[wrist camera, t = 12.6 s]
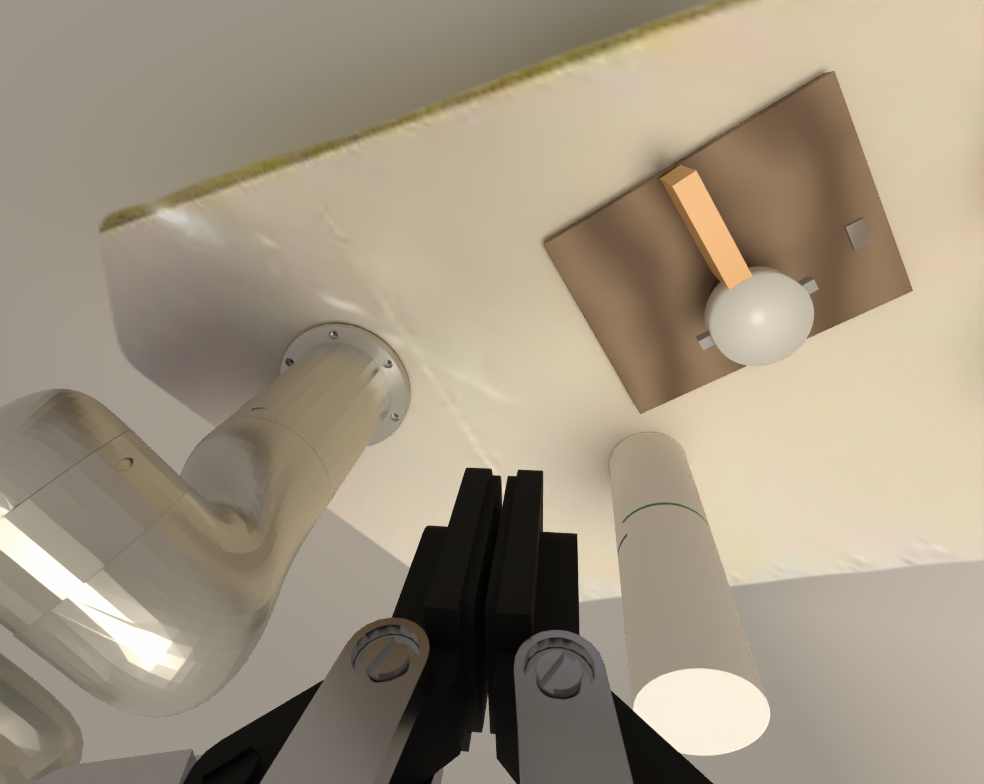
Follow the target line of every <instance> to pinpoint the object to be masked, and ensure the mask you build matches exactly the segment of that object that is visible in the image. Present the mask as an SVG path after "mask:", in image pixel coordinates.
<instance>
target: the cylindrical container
mask: <svg viewBox="0 0 984 784" xmlns="http://www.w3.org/2000/svg"><path fill="white" fill-rule="evenodd" d="M609 469H610V479H611V489H612V500H613V510H614V521H615V531H616V541H617V552H618V562H619V572H620V583H621V593H622V603H623V613H624V624H625V634H626V645H627V655H628V666H629V676H630V687H631V697H632V707H633V711H634V712H635V713H636V714H637V715H638V716H640V717H641V718H642V719H643V720H644V721H645V722H646V723H647V724H648V725H649V726H650V727H652V728H653V729H654V730H655V731H656V732H657V733H658V734H659V735H660V736H661V737H663V738H664V739H665V740H666V741H667V742H668V743H669V744H670V745H671V746H672V747H673V748H675V749H676V750H677V751H678V752H679V753H683V754H691V755H719V754H725V753H729V752H732V751H736V750H739V749H741V748H743V747H746V746H748V745H749V744H751V743H752V742H754V741H755V740H757V739H758V738H759V737H760V736H761V735H762V734H763V732H764V731H765V729H766V728H767V726H768V723H769V720H770V708H769V705H768V702H767V699H766V695H765V692H764V689H763V686H762V683H761V680H760V678H759V674H758V672H757V669H756V665H755V662H754V659H753V656H752V653H751V651H750V647H749V644H748V641H747V638H746V635H745V632H744V629H743V626H742V623H741V620H740V617H739V614H738V611H737V608H736V605H735V602H734V599H733V596H732V593H731V590H730V587H729V584H728V581H727V578H726V575H725V572H724V569H723V566H722V563H721V560H720V557H719V554H718V551H717V548H716V545H715V542H714V539H713V536H712V533H711V530H710V527H709V524H708V521H707V518H706V515H705V512H704V509H703V506H702V503H701V500H700V497H699V494H698V491H697V488H696V485H695V482H694V479H693V476H692V473H691V470H690V467H689V464H688V461H687V458H686V455H685V452H684V450H683V449H682V447H681V446H680V445H679V444H678V443H677V442H676V441H675V440H673V439H672V438H670V437H668V436H666V435H664V434H660V433H654V432H645V433H638V434H635V435H632V436H630V437H628V438H626V439H624V440H623V441H622V442H620V443H619V444H618V445H617V446H616V448H615V449H614V451H613V452H612V454H611V457H610V463H609Z"/></svg>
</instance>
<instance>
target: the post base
mask: <svg viewBox="0 0 984 784" xmlns="http://www.w3.org/2000/svg"><path fill="white" fill-rule="evenodd" d="M680 165H682V166H685V167H688V168H691V169H694V170H696V171H697V173H698V174H699V176H700V178H701V180H702V182H703V184H704V186H705V188H706V190H707V191H708V193H709V195H710V197H711V199H712V201H713V203H714V205H715V206H716V208H717V210H718V212H719V214H720V216H721V218H722V220H723V222H724V223H725V225H726V227H727V229H728V231H729V233H730V235H731V237H732V238H733V240H734V242H735V244H736V246H737V248H738V250H739V252H740V254H741V255H742V257H743V259H744V261H745V263H746V265H747V267H748V268H749V267H756V266H764V267H770V268H774V269H777V270H779V271H781V272H783V273H784V274H786V275H787V276H789V277H790V278H792V279H793V280H795V281H796V282H798V281H800V280H802V279H803V278H805V277H807V276H810V277H811V278H813V279H814V280H815V282H816V284H817V286H818V288H819V289H818V290H817V291H815V292H813V293H811V294H809V296H810V297H811V300H812V303H813V307H814V321H813V325H812V328H811V331H810V333H809V335H808V337H807V338H809V337H812V336H814V335H816V334H818V333H821V332H823V331H825V330H827V329H829V328H832V327H834V326H836V325H838V324H840V323H843V322H845V321H847V320H849V319H851V318H854V317H856V316H858V315H860V314H863V313H865V312H867V311H869V310H871V309H874V308H876V307H878V306H880V305H882V304H885V303H887V302H889V301H891V300H893V299H896V298H898V297H900V296H902V295H905V294H907V293H909V292H911V291H913V290H912V287H911V284H910V281H909V279H908V276H907V273H906V270H905V267H904V265H903V262H902V259H901V256H900V253H899V251H898V248H897V245H896V242H895V239H894V237H893V234H892V231H891V228H890V225H889V223H888V220H887V217H886V214H885V211H884V209H883V206H882V203H881V200H880V197H879V195H878V192H877V189H876V186H875V183H874V181H873V178H872V175H871V172H870V169H869V167H868V164H867V161H866V158H865V155H864V153H863V150H862V147H861V144H860V141H859V139H858V136H857V133H856V130H855V127H854V125H853V122H852V119H851V116H850V113H849V111H848V108H847V105H846V102H845V99H844V97H843V94H842V91H841V88H840V85H839V83H838V80H837V77H836V74H835V71H832V72H828V73H824V74H823V75H821V76H819V77H818V78H816V79H815V80H813V81H811V82H810V83H808V84H806V85H805V86H803V87H801V88H800V89H798V90H796V91H795V92H793V93H791V94H790V95H788V96H786V97H785V98H783V99H781V100H780V101H778V102H776V103H775V104H773V105H771V106H770V107H768V108H766V109H765V110H763V111H761V112H760V113H758V114H756V115H755V116H753V117H751V118H750V119H748V120H746V121H745V122H743V123H741V124H740V125H738V126H736V127H735V128H733V129H731V130H730V131H728V132H726V133H725V134H723V135H721V136H720V137H718V138H717V139H715V140H713V141H712V142H710V143H708V144H707V145H705V146H703V147H702V148H700V149H698V150H697V151H695V152H693V153H692V154H690V155H688V156H687V157H685V158H683V159H682V160H680V161H678V162H677V163H675V164H673V165H672V166H670V167H668V168H667V169H665V170H663V171H662V172H660V173H658V174H657V175H655V176H653V177H652V178H650V179H648V180H647V181H645V182H643V183H642V184H640V185H638V186H637V187H635V188H633V189H632V190H630V191H628V192H627V193H625V194H623V195H622V196H620V197H619V198H617V199H615V200H614V201H612V202H610V203H609V204H607V205H605V206H604V207H602V208H600V209H599V210H597V211H595V212H594V213H592V214H590V215H589V216H587V217H585V218H584V219H582V220H580V221H579V222H577V223H575V224H574V225H572V226H570V227H569V228H567V229H565V230H564V231H562V232H560V233H559V234H557V235H555V236H554V237H552V238H550V239H549V240H547V241H545V242H544V247H545V249H546V251H547V252H548V254H549V256H550V258H551V259H552V261H553V263H554V265H555V266H556V268H557V270H558V272H559V273H560V275H561V277H562V278H563V280H564V282H565V284H566V285H567V287H568V289H569V291H570V292H571V294H572V296H573V298H574V299H575V301H576V303H577V305H578V306H579V308H580V310H581V312H582V313H583V315H584V317H585V319H586V320H587V322H588V324H589V325H590V327H591V329H592V331H593V332H594V334H595V336H596V338H597V339H598V341H599V343H600V345H601V346H602V348H603V350H604V352H605V353H606V355H607V357H608V359H609V360H610V362H611V364H612V366H613V367H614V369H615V371H616V373H617V374H618V376H619V378H620V379H621V381H622V383H623V385H624V386H625V388H626V390H627V392H628V393H629V395H630V397H631V399H632V400H633V402H634V404H635V406H636V407H637V409H638V411H639V413H640V414H642V413H644V412H646V411H648V410H650V409H653V408H655V407H657V406H659V405H661V404H664V403H666V402H668V401H670V400H672V399H675V398H677V397H679V396H681V395H684V394H686V393H688V392H690V391H692V390H695V389H697V388H699V387H701V386H703V385H706V384H708V383H710V382H712V381H714V380H717V379H719V378H721V377H723V376H726V375H728V374H730V373H732V372H734V371H737V370H739V369H741V368H743V367H745V366H747V365H742V364H739V363H736V362H734V361H732V360H730V359H729V358H727V357H726V356H725V355H724V354H723V353H722V352H721V351H720V350H719V348H718V347H717V345H716V344H715V345H713V346H711V347H709V348H707V349H705V350H703V349H702V347H701V345H700V343H699V342H698V340H697V338H696V337H697V336H698V335H700V334H702V333H704V332H706V331H708V330H707V328H706V325H705V308H706V304H707V301H708V299H709V296H710V295H711V293H712V291H713V290H714V289H715V287H716V286H717V285H718V284H719V283H720V281H719V280H718V278H717V277H716V276H715V275H714V274H713V273H712V272H711V270H710V268H709V266H708V265H707V263H706V261H705V259H704V257H703V256H702V254H701V252H700V250H699V248H698V247H697V245H696V243H695V241H694V239H693V238H692V236H691V234H690V232H689V230H688V229H687V227H686V225H685V223H684V221H683V220H682V218H681V216H680V214H679V212H678V211H677V209H676V207H675V205H674V203H673V202H672V200H671V198H670V196H669V194H668V193H667V191H666V189H665V187H664V185H663V184H662V182H661V180H660V178H662V177H663V176H665V175H666V174H668V173H669V172H671V171H672V170H674V169H675V168H677V167H678V166H680ZM807 338H806V339H807Z"/></svg>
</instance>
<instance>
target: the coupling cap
mask: <svg viewBox="0 0 984 784" xmlns="http://www.w3.org/2000/svg"><path fill="white" fill-rule="evenodd" d="M660 180H661V182H662V184H663V185H664V187H665V189H666V191H667V193H668V194H669V196H670V198H671V200H672V202H673V203H674V205H675V207H676V209H677V211H678V212H679V214H680V216H681V218H682V220H683V221H684V223H685V225H686V227H687V229H688V230H689V232H690V234H691V236H692V238H693V239H694V241H695V243H696V245H697V247H698V248H699V250H700V252H701V254H702V256H703V257H704V259H705V261H706V263H707V265H708V266H709V268H710V270H711V272H712V273H713V274H714V275H715V276H716V277H717V278H718V280H719V281H720V283H719V284H718V285H717V286H716V287H715V289H714V290H713V291H712V293H711V295H710V296H709V299H708V301H707V304H706V308H705V325H706V328H707V330H708V331H706V332H704V333H702V334H700V335H698V336H697V337H696V338H697V340H698V342H699V343H700V345H701V347H702V349H703V350H705V349H707V348H709V347H711V346H713V345H715V344H716V345H717V347H718V348H719V350H720V351H721V352H722V353H723V354H724V355H725V356H726V357H727V358H729V359H730V360H732V361H734V362H736V363H739V364H742V365H747V366H764V365H769V364H773V363H776V362H778V361H781V360H783V359H785V358H786V357H788V356H790V355H791V354H792V353H794V352H795V351H796V350H797V349H798V348H799V347H800V346H801V345H802V344H803V343H804V341H805V340H806V338H807V337H808V335H809V333H810V331H811V328H812V325H813V321H814V307H813V303H812V300H811V297H810V296H809V294H811V293H813V292H815V291H817V290H818V289H819V288H818V286H817V284H816V282H815V280H814V279H813V278H811V277H810V276H807V277H805V278H803V279H802V280H800V281H798V282H796V281H795V280H793V279H792V278H790V277H789V276H787V275H786V274H784V273H783V272H781V271H779V270H777V269H774V268H770V267H764V266H756V267H749V268H748V267H747V265H746V263H745V261H744V259H743V257H742V255H741V254H740V252H739V250H738V248H737V246H736V244H735V242H734V240H733V238H732V237H731V235H730V233H729V231H728V229H727V227H726V225H725V223H724V222H723V220H722V218H721V216H720V214H719V212H718V210H717V208H716V206H715V205H714V203H713V201H712V199H711V197H710V195H709V193H708V191H707V190H706V188H705V186H704V184H703V182H702V180H701V178H700V176H699V174H698V173H697V171H696V170H694V169H691V168H688V167H685V166H682V165H680V166H678V167H677V168H675V169H674V170H672V171H671V172H669V173H668V174H666V175H665V176H663V177H662V178H660Z"/></svg>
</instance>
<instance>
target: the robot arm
mask: <svg viewBox="0 0 984 784" xmlns="http://www.w3.org/2000/svg"><path fill="white" fill-rule="evenodd" d="M335 331H336V332H337V334H336V333H335ZM389 360H390V361H391V362H392V363H390V362H389ZM409 402H410V385H409V381H408V376H407V374H406V371H405V369H404V367H403V364H402V363H401V361H400V360H399V358H398V357H397V355H396V354H395V353H394V352H393V350H392V349H391V348H390V347H389V346H388V345H387V344H386V343H384V342H383V341H382V340H381V339H379V338H378V337H377V336H375V335H373V334H371V333H370V332H368V331H366V330H364V329H361V328H358V327H355V326H352V325H345V324H325V325H321V326H317V327H314V328H312V329H310V330H308V331H306V332H304V333H303V334H302V335H300V336H299V337H298V338H296V339H295V340H294V341H293V343H292V344H291V345H290V346H289V347H288V349H287V350H286V352H285V354H284V356H283V359H282V362H281V365H280V376H278V377H277V378H276V379H275V380H274V381H272V382H271V383H270V384H269V385H268V386H266V387H265V388H264V389H263V390H262V391H260V392H259V393H258V394H257V395H256V396H254V397H253V398H252V399H251V400H249V401H248V402H247V403H246V404H245V405H243V406H242V407H241V408H240V409H239V410H237V411H236V412H235V413H234V414H233V415H231V416H230V417H229V418H228V419H227V420H225V421H224V422H223V423H222V424H221V425H219V426H218V427H216V428H215V429H214V430H213V431H212V432H211V433H209V434H208V435H207V436H206V437H205V438H203V440H202V441H201V442H200V443H199V444H198V445H197V446H196V447H195V449H194V450H193V452H192V453H191V455H190V456H189V458H188V460H187V462H186V464H185V466H184V468H183V470H182V473H181V475H180V476H179V475H178V474H177V473H176V472H175V471H174V470H173V469H172V468H171V467H170V466H169V465H168V464H167V463H166V462H165V461H164V460H163V459H162V458H160V457H159V456H158V455H157V454H156V453H155V452H154V451H153V450H152V449H151V448H150V447H149V446H148V445H147V444H146V443H145V442H144V441H143V440H142V439H141V438H140V437H139V436H138V435H137V434H135V432H134V431H132V430H131V429H130V428H129V427H128V426H127V425H126V424H125V423H124V422H122V421H121V420H120V419H119V418H118V417H117V416H116V415H115V414H114V413H112V412H111V411H110V410H109V409H108V408H107V407H105V406H104V405H103V404H101V403H100V402H99V401H97V400H95V399H94V398H92V397H90V396H88V395H86V394H84V393H81V392H78V391H73V390H69V389H50V390H44V391H40V392H36V393H32V394H29V395H26V396H24V397H21V398H19V399H17V400H15V401H13V402H10V403H8V404H6V405H4V406H2V407H0V624H2V625H3V626H4V627H6V628H7V629H8V630H9V631H11V632H12V633H13V636H14V637H16V638H17V639H18V640H20V641H21V642H22V643H24V644H25V645H26V646H27V647H29V648H30V649H31V650H33V651H34V652H35V653H37V654H38V655H39V656H41V657H42V658H43V659H44V660H46V661H47V662H48V663H50V664H51V665H52V666H53V667H55V668H56V669H57V670H59V671H60V672H61V673H63V674H64V675H65V676H66V677H68V678H69V679H71V680H72V681H73V682H74V683H75V684H77V685H78V686H79V687H80V688H82V689H83V690H85V691H87V692H88V693H89V694H91V695H93V696H94V697H96V698H97V699H99V700H101V701H103V702H105V703H107V704H109V705H111V706H113V707H115V708H117V709H119V710H121V711H124V712H127V713H130V714H134V715H139V716H144V717H168V716H173V715H178V714H181V713H183V712H186V711H188V710H191V709H193V708H195V707H197V706H199V705H201V704H203V703H204V702H206V701H208V700H209V699H210V698H212V697H213V696H214V695H216V694H217V693H218V692H219V691H220V690H221V689H223V688H224V687H225V686H226V685H227V684H228V683H229V682H230V681H231V680H232V679H233V678H234V676H235V675H236V674H237V673H238V672H239V671H240V669H241V668H242V667H243V665H244V664H245V663H246V661H247V660H248V658H249V656H250V655H251V653H252V652H253V650H254V649H255V647H256V645H257V644H258V642H259V640H260V639H261V637H262V635H263V632H264V630H265V628H266V626H267V624H268V621H269V619H270V617H271V614H272V612H273V609H274V607H275V604H276V601H277V598H278V596H279V593H280V590H281V588H282V585H283V582H284V580H285V577H286V575H287V573H288V571H289V568H290V566H291V564H292V562H293V560H294V558H295V556H296V555H297V553H298V551H299V549H300V547H301V546H302V544H303V542H304V541H305V539H306V537H307V536H308V534H309V533H310V531H311V530H312V528H313V526H314V525H315V523H316V522H317V520H318V519H319V517H320V515H321V514H322V513H323V511H324V510H325V508H326V507H327V505H328V504H329V502H330V501H331V499H332V498H333V496H334V495H335V493H336V492H337V490H338V489H339V487H340V486H341V484H342V483H343V481H344V480H345V478H346V477H347V475H348V474H349V472H350V471H351V469H352V468H353V466H354V465H355V463H356V462H357V460H358V459H359V457H360V456H361V454H362V453H363V451H364V449H365V448H366V446H370V445H374V444H376V443H379V442H381V441H383V440H385V439H386V438H388V437H389V436H391V435H392V434H393V433H394V432H395V431H396V430H397V429H398V427H399V426H400V424H401V423H402V421H403V420H404V417H405V415H406V413H407V411H408V407H409ZM396 414H397V415H396ZM487 696H488V698H489V716H490V733H491V734H496V752H497V759H498V760H499V762H500V763H501V764H502V766H503V767H504V768H505V769H506V771H507V772H508V773H509V775H510V776H511V777H512V778H513V780H514V781H515V782H516V783H517V784H713V783H712V782H711V781H710V780H709V779H707V778H706V777H705V776H704V775H703V774H702V773H701V772H700V771H699V770H698V769H696V768H695V767H694V766H693V765H692V764H691V763H690V762H689V761H688V760H687V759H685V758H684V757H683V756H682V755H681V754H680V753H679V752H678V751H677V750H676V749H675V748H673V747H672V746H671V745H670V744H669V743H668V742H667V741H666V740H665V739H664V738H663V737H661V736H660V735H659V734H658V733H657V732H656V731H655V730H654V729H653V728H652V727H650V726H649V725H648V724H647V723H646V722H645V721H644V720H643V719H642V718H641V717H640V716H638V715H637V714H636V713H635V712H634V711H633V710H632V709H630V707H629V706H627V705H626V704H625V703H624V702H623V701H622V700H621V699H620V698H619V697H617V696H616V695H615V694H614V693H613V692H612V691H611V689H610V685H609V682H608V677H607V673H606V669H605V665H604V662H603V660H602V658H601V655H600V653H599V652H598V651H597V649H596V648H595V647H594V646H593V645H592V644H591V643H590V642H589V641H587V640H586V639H584V638H583V637H581V636H580V635H579V594H578V548H577V534H573V533H554V532H543V471H535V470H518V472H517V476H508V478H507V484H506V490H505V495H504V501H503V506H502V486H501V476H495V475H492V470H491V469H485V468H466V470H465V473H464V476H463V479H462V482H461V486H460V489H459V492H458V495H457V499H456V502H455V505H454V508H453V512H452V515H451V518H450V521H449V525H448V527H443V526H427V527H426V528H425V530H424V532H423V534H422V537H421V540H420V542H419V545H418V548H417V551H416V553H415V556H414V559H413V561H412V564H411V567H410V570H409V572H408V575H407V578H406V581H405V583H404V586H403V589H402V591H401V594H400V597H399V600H398V602H397V605H396V608H395V611H394V613H393V616H392V618H386V619H380V620H377V621H375V622H372V623H370V624H367V625H366V626H364V627H363V628H361V629H360V630H359V631H357V632H356V633H355V634H354V635H353V636H352V638H351V639H350V640H349V641H348V642H347V644H346V645H345V647H344V649H343V650H342V652H341V653H340V655H339V657H338V658H337V660H336V661H335V663H334V665H333V666H332V668H331V670H330V671H329V673H328V674H327V676H326V678H325V679H324V680H323V681H321V682H319V683H318V684H316V685H314V686H312V687H311V688H309V689H307V690H306V691H304V692H302V693H301V694H299V695H297V696H295V697H294V698H292V699H291V700H289V701H287V702H285V703H284V704H282V705H280V706H279V707H277V708H275V709H274V710H272V711H270V712H269V713H267V714H265V715H263V716H262V717H260V718H258V719H256V720H255V721H253V722H252V723H250V724H248V725H246V726H245V727H243V728H241V729H240V730H238V731H236V732H235V733H233V734H231V735H229V736H228V737H226V738H224V739H223V740H221V741H220V742H218V743H217V744H216V745H214V746H213V747H212V748H210V749H209V750H208V751H206V752H205V753H204V754H203V755H197V756H195V755H194V752H193V750H192V749H188V750H181V751H174V752H166V753H158V754H151V755H143V756H137V757H128V758H121V759H113V760H106V761H99V762H91V763H83V764H80V761H81V757H82V748H83V739H82V734H81V730H80V728H79V725H78V724H77V723H76V721H75V719H74V718H73V716H72V715H71V713H70V712H69V710H68V709H66V708H65V707H64V706H63V705H62V704H61V703H60V702H59V701H58V700H57V699H56V698H55V697H54V696H53V695H52V694H51V693H50V692H49V691H47V690H46V689H45V688H44V687H43V686H41V684H39V683H38V682H37V681H36V680H34V679H33V678H32V677H31V676H29V675H28V674H27V673H26V672H24V671H23V670H22V669H21V668H19V667H18V666H17V665H16V664H14V663H13V662H12V661H10V660H9V659H8V658H6V657H5V656H4V655H3V654H1V653H0V784H441V781H442V776H443V767H444V766H446V765H447V764H448V763H449V762H451V761H452V760H453V759H454V758H456V757H457V756H458V755H459V754H460V752H461V751H467V752H468V751H469V746H470V739H471V733H472V732H480V733H481V732H482V729H483V724H484V717H485V710H486V703H487Z"/></svg>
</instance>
